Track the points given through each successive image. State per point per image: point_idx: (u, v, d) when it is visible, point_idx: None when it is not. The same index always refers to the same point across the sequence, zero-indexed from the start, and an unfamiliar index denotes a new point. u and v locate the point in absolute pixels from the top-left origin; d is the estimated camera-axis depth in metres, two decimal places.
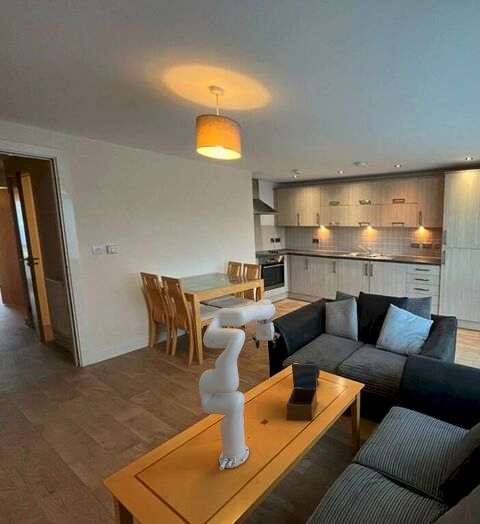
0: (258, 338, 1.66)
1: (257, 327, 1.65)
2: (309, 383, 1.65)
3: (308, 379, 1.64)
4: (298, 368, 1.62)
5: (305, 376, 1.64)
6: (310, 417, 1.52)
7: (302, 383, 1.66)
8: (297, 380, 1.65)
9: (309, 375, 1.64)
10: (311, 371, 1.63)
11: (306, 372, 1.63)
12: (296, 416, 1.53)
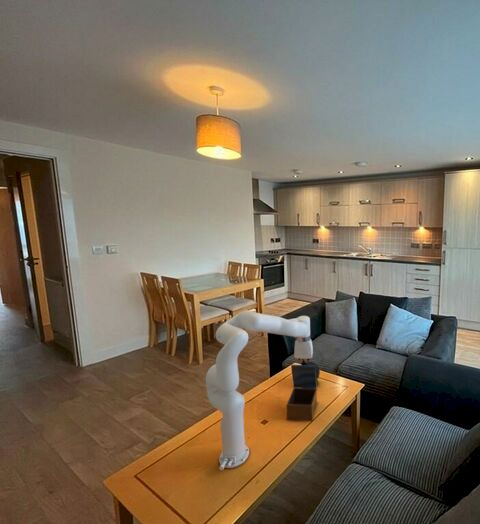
0: (297, 356, 1.60)
1: (296, 345, 1.59)
2: (309, 383, 1.65)
3: (308, 380, 1.64)
4: (298, 369, 1.61)
5: (305, 377, 1.63)
6: (310, 417, 1.52)
7: (302, 383, 1.65)
8: (297, 380, 1.65)
9: (309, 376, 1.63)
10: (311, 372, 1.62)
11: (306, 373, 1.62)
12: (296, 416, 1.53)
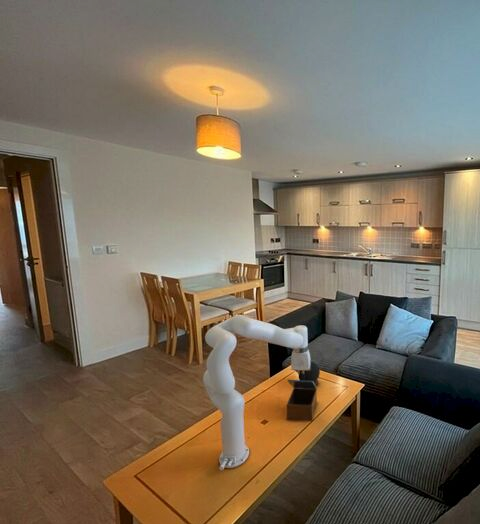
0: (294, 368, 1.53)
1: (293, 356, 1.52)
2: (308, 387, 1.64)
3: (307, 386, 1.61)
4: (295, 382, 1.56)
5: (303, 385, 1.60)
6: (310, 417, 1.52)
7: (301, 387, 1.64)
8: (296, 386, 1.63)
9: (307, 385, 1.59)
10: (309, 384, 1.57)
11: (304, 384, 1.58)
12: (296, 416, 1.53)
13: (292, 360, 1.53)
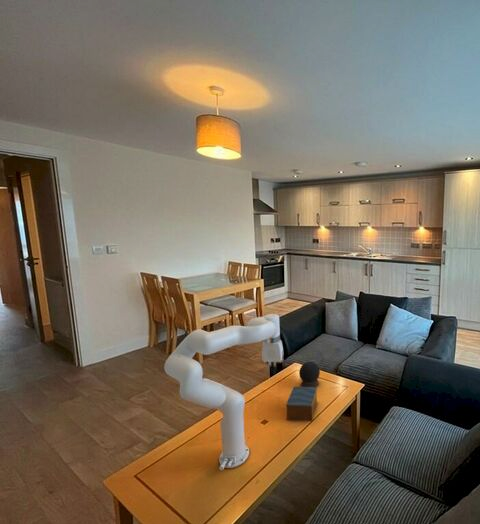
0: (264, 359, 1.42)
1: (263, 347, 1.42)
2: None
3: None
4: None
5: None
6: (310, 417, 1.52)
7: None
8: None
9: None
10: None
11: None
12: (296, 416, 1.53)
13: (263, 351, 1.42)
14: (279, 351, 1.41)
